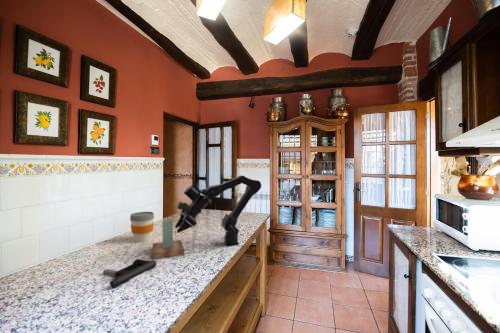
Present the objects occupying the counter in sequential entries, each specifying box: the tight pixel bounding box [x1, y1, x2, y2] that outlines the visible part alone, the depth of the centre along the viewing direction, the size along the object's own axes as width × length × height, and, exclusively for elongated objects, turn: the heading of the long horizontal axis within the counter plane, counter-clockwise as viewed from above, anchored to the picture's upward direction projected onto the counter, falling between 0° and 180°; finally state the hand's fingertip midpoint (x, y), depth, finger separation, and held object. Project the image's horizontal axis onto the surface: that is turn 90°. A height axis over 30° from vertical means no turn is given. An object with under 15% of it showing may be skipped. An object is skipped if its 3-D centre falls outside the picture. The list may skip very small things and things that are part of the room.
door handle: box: [102, 258, 157, 288], centre depth 96 cm, size 3×20×16 cm
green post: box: [162, 218, 174, 248], centre depth 119 cm, size 4×4×13 cm
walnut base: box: [152, 239, 185, 261], centre depth 119 cm, size 14×14×3 cm
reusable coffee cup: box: [129, 211, 155, 243], centre depth 138 cm, size 13×13×15 cm
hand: (176, 229), depth 120 cm, fingers open, 9 cm apart
